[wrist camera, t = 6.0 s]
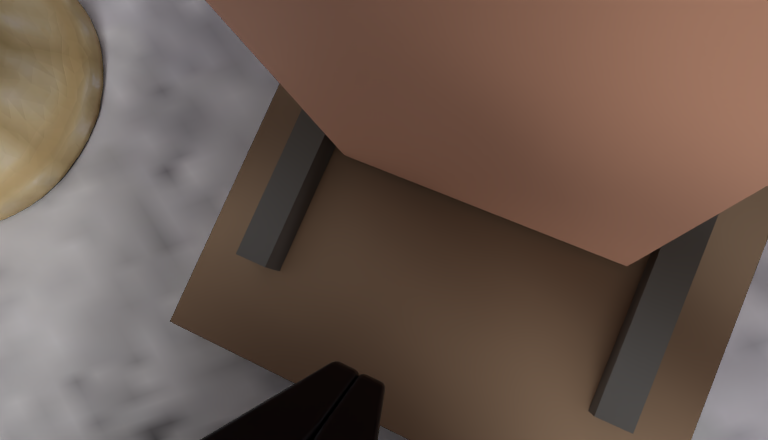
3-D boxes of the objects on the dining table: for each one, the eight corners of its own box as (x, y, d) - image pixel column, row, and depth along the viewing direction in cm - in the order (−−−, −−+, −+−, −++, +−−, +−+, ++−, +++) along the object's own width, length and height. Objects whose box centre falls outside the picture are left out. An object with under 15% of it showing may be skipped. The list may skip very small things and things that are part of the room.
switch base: (635, 540, 15) (738, 704, 8) (192, 322, 18) (3, 314, 11) (796, 119, 16) (1006, -37, 9) (350, -23, 18) (264, -223, 12)
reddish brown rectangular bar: (626, 266, 14) (1142, -30, 3) (344, 155, 16) (-88, -328, 4) (651, 204, 14) (1243, -330, 3) (368, 100, 16) (14, -510, 4)
